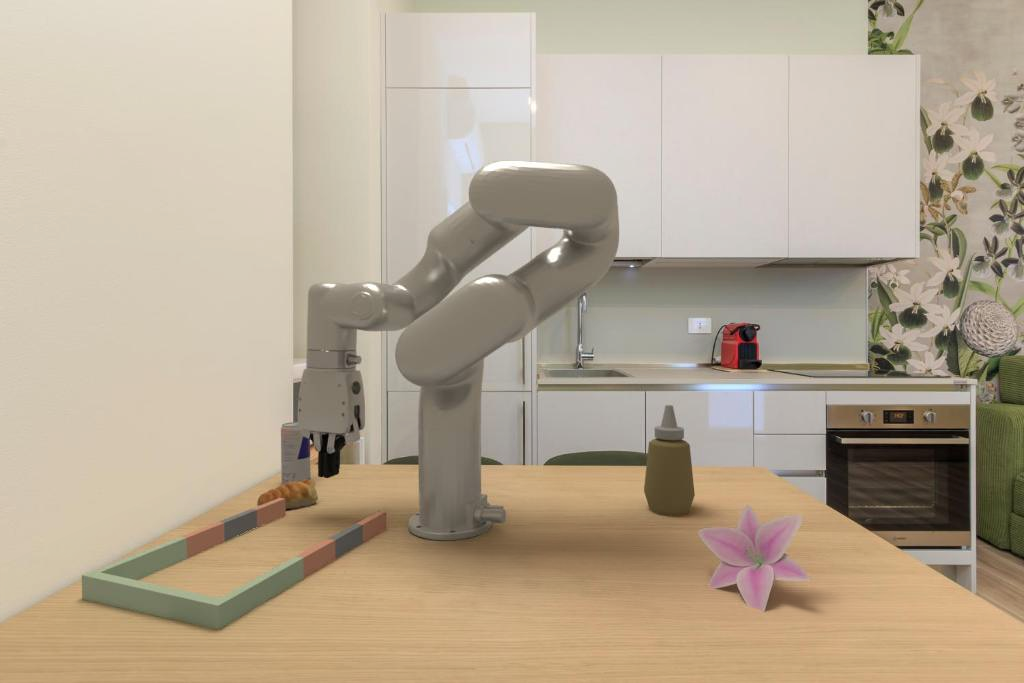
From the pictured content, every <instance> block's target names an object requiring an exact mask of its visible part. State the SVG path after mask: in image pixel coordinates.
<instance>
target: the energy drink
mask: <svg viewBox="0 0 1024 683" xmlns="http://www.w3.org/2000/svg"><path fill="white" fill-rule="evenodd" d="M300 430H301V428H300V427H299V425H298V421H293V422H286V423H282V424H281V427H280V454H281V455H280V457H281V458H280V460H281V461H280V463H281V464H280V465H281V466H280V470H281V475H280V476H281V485H283V484H285V483H288V482H295V481H296V482H297V481H302V480H303V479H305V480H308V479H310V480H311V481H312V479H311V440H310V439H309V438H306V437H304V436H302V435H301V434H300Z"/></svg>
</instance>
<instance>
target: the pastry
mask: <svg viewBox="0 0 1024 683" xmlns="http://www.w3.org/2000/svg"><path fill="white" fill-rule="evenodd" d="M310 479H311V478H310ZM310 479H308V480H305V479H303V480H302V481H297V482H296V481H295V482H288V483H285V484H283V485H282V484H281V485H279V486H277V487H276V488H275V487H274V488H272V489H269V490H267V491H266V492H264V493H262V494H261V495H260V496H258V500H257V503H256V505H257V506H260V505H263V504H265V503H268V502H270V501H273V500H275V499H278V498H285V508H286V510H290V509H291V510H292V509H299V508H302V507H305V506H306V507H310V506H312V504H313V505H315V504H316V502H317V501H318V499H319V496H318V492H317V489H316V486H315V483H314V481H313V480H312V479H311V480H310ZM309 505H310V506H309Z"/></svg>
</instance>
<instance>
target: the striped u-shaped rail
mask: <svg viewBox="0 0 1024 683" xmlns="http://www.w3.org/2000/svg"><path fill="white" fill-rule="evenodd" d="M286 510H287V509H286V508H285V498H278V499H275V500H273V501H270V502H268V503H265V504H263V505H260V506H258V505H257V506H256V507H252V508H250V509H247V510H245V511H242V512H240V513H237V514H235V515H232V516H230V517H227V518H224V519H222V520H219V521H216V522H214V523H211V524H209V525H207V526H204V527H202V528H199V529H196V530H194V531H191V532H188V533H186V534H183V535H181V536H178V537H176V538H173V539H171V540H167V541H165V542H163V543H160V544H158V545H155V546H153V547H150V548H148V549H145V550H143V551H140V552H138V553H134V554H132V555H130V556H128V557H124V558H122V559H120V560H119V559H118V560H117V561H115V562H112V563H109V564H107V565H103V566H102V567H99V568H97V569H94V570H91V571H89V572H86V573H84V574H81V600H85V601H90V602H93V603H98V604H103V605H107V606H112V607H115V608H116V607H117V608H121V609H125V610H130V611H133V612H139V613H142V614H147V615H151V616H156V617H161V618H163V619H169V620H174V621H178V622H182V623H187V624H190V625H196V626H199V627H204V628H208V629H212V630H217V631H219V630H221V629H222V628H224V627H225V626H227V625H230V624H231V623H233V622H234V621H236V620H238V619H239V618H240V617H242V616H244V615H246V614H248V613H249V612H251V611H252V610H254V609H255V608H258V607H259V606H261V605H262V604H264V603H265V602H268V601H269V600H270V599H272V598H273V597H275V596H277V595H279V594H281V593H282V592H283V591H285V590H286V589H288V588H290V587H292V586H294V585H295V584H296V583H299V582H300V581H302V580H303V579H305V578H306V577H308V576H310V575H312V574H313V573H315V572H317V571H318V570H321V568H323V567H325V566H326V565H328V564H330V563H331V562H333V561H335V560H336V559H338V558H340V557H341V556H343V555H344V554H346V553H348V552H350V551H351V550H353V549H354V547H355V548H356V547H358V546H359V545H361V544H363V543H365V542H367V540H370V539H371V538H372V537H374V536H376V535H378V534H379V533H381V532H383V531H384V530H386V529H387V511H385V510H384V511H383V510H378V511H376V512H374V513H373V514H371V515H369V516H367V517H365V518H362V519H361V520H360V521H358V522H355V523H354V524H352V525H350V526H349V527H346V528H345V529H343V530H341V531H339V532H338V533H336V534H334V535H332V536H331V537H328V538H326V539H325V540H323V541H321V542H319V543H318V544H316V545H314V546H312V547H311V548H308V549H307V550H305V551H303V552H301V553H300V554H298V555H296V556H294V557H292V558H290V559H287V561H284V562H283V563H280V564H279V565H278V566H276V567H274V568H272V569H270V570H268V571H266V572H264V573H263V574H260V575H258V577H256V578H255V577H254V578H253V579H252V580H250V581H248V582H246V583H244V584H243V585H240V586H238V587H236V588H235V589H233V590H232V591H229V592H228V593H226V594H224V595H222V596H221V597H216V596H212V595H206V594H202V593H197V592H192V591H188V590H183V589H179V588H173V587H169V586H164V585H160V584H155V583H150V582H147V581H142V580H140V579H143V578H145V577H147V576H149V575H152V574H154V573H156V572H159V571H161V570H164V569H165V568H169V567H170V566H173V565H175V564H177V563H179V562H181V561H184V560H186V559H188V558H191V557H193V556H196V555H198V554H200V553H202V551H203V552H205V551H207V550H209V549H212V548H214V547H216V546H218V545H217V544H219V545H220V543H221V544H223V543H225V542H224V541H226V542H228V541H230V540H232V539H231V538H233V537H235V536H237V535H239V536H241V535H240V534H242V533H244V532H246V531H249V530H251V529H253V528H256V527H258V528H260V527H262V526H261V525H263V524H265V525H267V524H269V523H271V522H270V521H272V522H273V520H274V521H276V520H278V519H277V518H279V519H281V518H283V517H285V516H284V515H286ZM282 516H283V517H282ZM280 517H281V518H280ZM275 519H276V520H275ZM268 522H269V523H268ZM266 523H267V524H266ZM259 526H260V527H259ZM263 526H264V525H263ZM256 529H257V528H256ZM253 530H254V529H253ZM251 531H252V530H251ZM249 532H250V531H249ZM246 533H247V532H246ZM244 534H245V533H244ZM242 535H243V534H242ZM237 537H238V536H237ZM235 538H236V537H235ZM229 539H230V540H229ZM233 539H234V538H233ZM227 540H228V541H227ZM222 542H223V543H222ZM215 545H216V546H215ZM213 546H214V547H213ZM211 547H212V548H211Z"/></svg>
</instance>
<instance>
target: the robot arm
mask: <svg viewBox="0 0 1024 683" xmlns="http://www.w3.org/2000/svg"><path fill="white" fill-rule="evenodd" d="M619 218H620V217H619V205H618V194H617V190H616V187H615V184H614V183H613V181H612V180H611V178H610V177H609V176H608V175H607V174H606V173H605V172H604V171H601V170H600V169H598V168H596V167H593V166H589V165H585V164H575V163H560V162H559V163H558V162H543V161H541V162H540V161H527V160H526V161H525V160H508V159H507V160H499V161H498V160H497V161H493V162H490V163H488V164H486V165H484V166H482V167H481V168H480V169H478V171H476V173H475V174H474V175H473V177H472V179H471V180H470V183H469V187H468V201H467V202H465V203H464V204H463V205H461V206H460V207H459V208H458V209H456V210H455V211H454V212H452V214H450V215H448V216H447V217H446V218H444V219H443V220H442V221H440V222H439V223H437V225H435V226H433V228H431V230H430V232H429V233H428V235H427V241H426V248H425V252H424V254H423V256H422V258H421V259H420V260H419V262H418V263H417V264H415V266H414V267H413V268H412V269H411V270H409V271H408V272H407V273H406V274H404V276H401V277H400V278H399V279H398V280H397V281H395V282H393V284H388V283H379V282H374V281H362V282H356V283H349V284H346V283H338V282H318V283H317V282H316V283H313V284H311V286H309V289H308V292H307V293H308V294H307V321H306V322H307V324H306V325H307V326H306V327H307V328H306V329H307V330H306V359H305V360H306V363H305V364H306V365H305V368H304V369H303V371H302V375H301V381H300V385H299V392H298V403H297V422H298V425H299V427H300V428H301V430H300V434H301V435H302V436H304V437H306V438H309V439H310V442H312V444H313V445H314V447H313V448H314V450H315V451H316V452H317V477H318V478H324V479H329V478H332V477H335V476H337V475H339V474H340V468H341V451H342V450H344V449H345V446H346V445H347V444H350V443H355V442H359V441H360V439H361V434H360V431H361V430H364V429H365V426H366V403H365V402H366V401H365V400H366V399H365V389H364V384H363V383H364V382H363V377H362V374H361V373H362V372H361V370H358V369H357V365H360V364H361V363H362V357H361V355H357V336H358V331H364V332H396V331H400V330H403V329H404V330H403V331H402V332H401V334H400V336H399V337H398V340H397V343H396V346H395V349H394V350H395V352H394V353H395V355H394V357H395V364H396V367H397V369H398V371H399V373H400V374H401V376H402V377H404V379H406V380H407V381H408V382H409V383H410V384H413V385H415V386H418V387H420V390H419V398H418V412H417V413H418V421H417V422H418V425H417V427H418V428H417V430H418V431H417V437H418V440H417V441H418V444H417V445H418V448H417V450H418V453H417V454H418V511H417V512H416V513H414V514H412V515H411V517H409V519H408V530H409V531H410V532H411V533H412V534H413V535H415V536H416V537H418V538H422V539H427V540H434V541H457V540H465V539H471V538H474V537H476V536H479V535H482V534H484V533H485V532H488V530H490V528H491V526H492V524H493V523H495V524H501V525H502V524H505V522H506V518H507V514H506V513H507V512H506V510H505V508H504V505H498V504H495V505H494V504H490V503H489V502H488V494H486V493H482V443H481V442H482V439H481V438H482V389H483V378H484V368H485V358H487V357H488V356H490V355H491V354H493V353H494V352H496V351H497V350H499V349H500V348H502V347H503V346H505V345H506V344H511V343H515V342H517V341H519V340H521V339H523V338H524V337H526V336H527V335H528V334H530V333H531V332H532V331H533V330H535V329H536V328H537V327H539V326H540V325H541V324H543V323H544V322H546V321H547V320H548V319H550V318H551V317H553V316H554V315H556V314H557V313H558V312H560V311H561V310H563V309H564V308H566V307H567V306H568V305H569V304H571V303H572V302H574V301H575V300H577V299H578V298H579V297H581V296H583V294H585V293H587V292H589V290H590V289H592V288H593V287H595V286H596V284H598V283H599V282H600V281H601V280H602V278H603V277H605V275H606V274H607V273H608V272H609V270H610V269H611V266H612V264H613V263H614V260H615V258H616V256H617V252H618V250H619V244H620V219H619ZM530 227H534V228H545V229H554V230H562V231H563V234H562V236H561V238H560V240H558V241H557V242H556V243H555V244H554V245H552V246H550V247H549V248H547V249H545V250H543V251H542V252H540V253H539V254H537V255H536V256H534V257H533V258H531V259H530V261H528V262H527V263H525V264H524V265H522V266H521V267H519V268H517V269H516V270H514V271H513V272H512V273H510V274H508V275H505V274H501V273H498V274H497V273H491V274H485V275H483V276H479V277H478V278H475V279H473V280H471V281H469V282H468V283H467V284H465V285H463V286H461V287H460V288H459V289H457V290H456V291H455V292H453V293H452V294H450V293H451V292H452V291H453V290H454V289H455V288H456V287H457V286H458V285H459V284H460V283H461V282H462V280H463V279H464V278H465V277H466V276H467V275H468V274H469V273H471V272H472V271H473V270H475V269H476V268H477V267H478V266H480V265H481V264H483V263H484V262H486V261H487V260H488V259H489V258H490V257H492V256H493V255H494V254H496V253H497V252H499V251H500V250H501V249H502V248H504V247H505V246H507V245H508V244H509V243H510V242H512V241H513V240H515V239H516V238H517V237H518V236H519V235H521V234H522V233H524V232H525V231H526V230H527V229H529V228H530ZM449 294H450V295H449Z"/></svg>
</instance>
